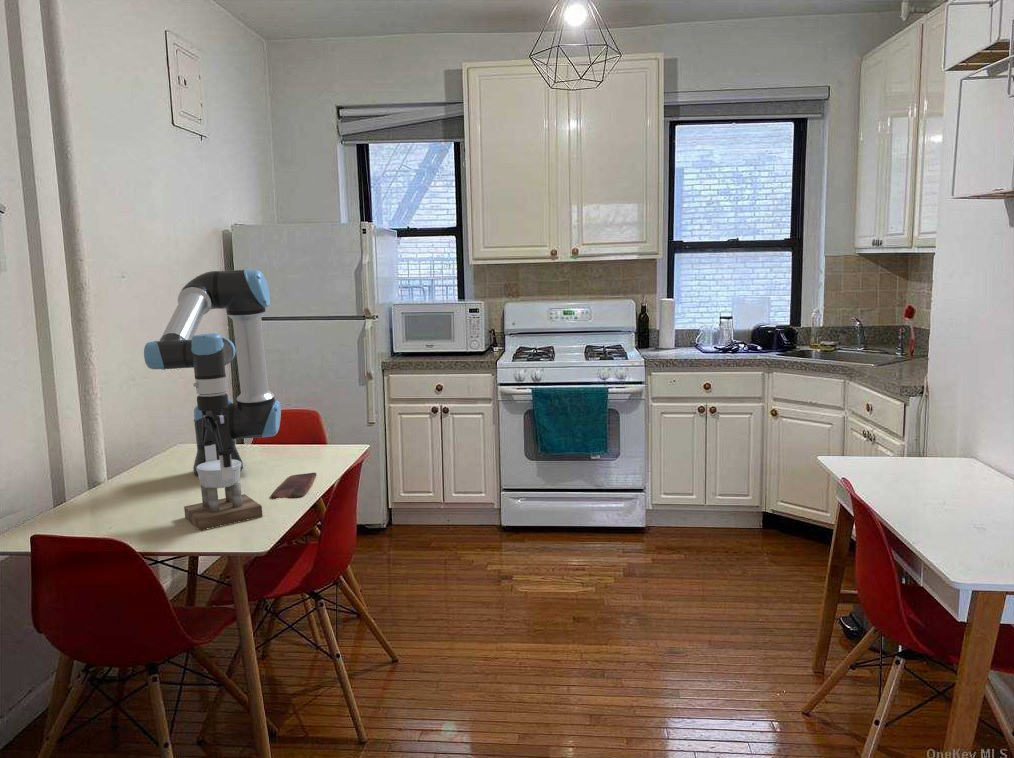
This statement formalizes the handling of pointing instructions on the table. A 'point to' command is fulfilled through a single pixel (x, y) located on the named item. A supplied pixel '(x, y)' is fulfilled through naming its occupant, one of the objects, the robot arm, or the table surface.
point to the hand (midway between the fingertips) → (219, 474)
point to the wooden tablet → (294, 486)
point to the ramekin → (217, 474)
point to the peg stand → (222, 508)
